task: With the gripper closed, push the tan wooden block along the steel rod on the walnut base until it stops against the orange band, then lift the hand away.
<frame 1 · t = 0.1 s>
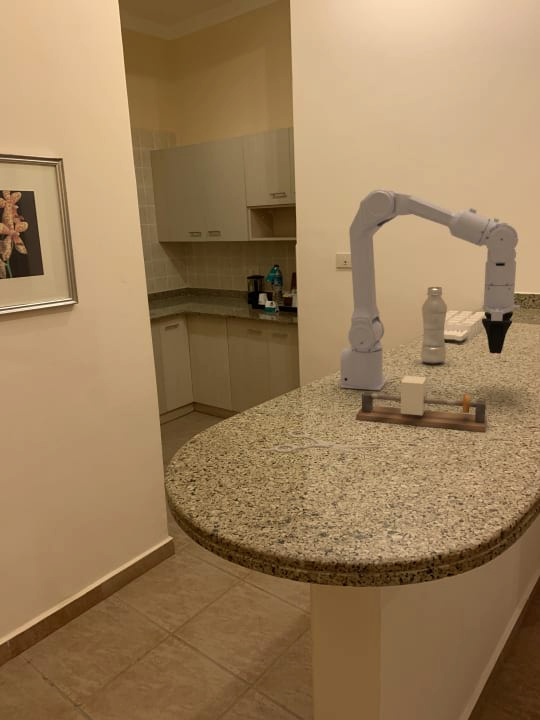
hand: (496, 348, 114), 10 cm above the counter, fingers open, 7 cm apart
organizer: (455, 334, 180), on the counter
scissors: (327, 449, 94), on the counter
rod base: (418, 419, 104), on the counter
tan wooden block: (413, 395, 103), point 5 cm above the counter, slide at 0.0 cm
plastic bottle: (433, 363, 144), on the counter
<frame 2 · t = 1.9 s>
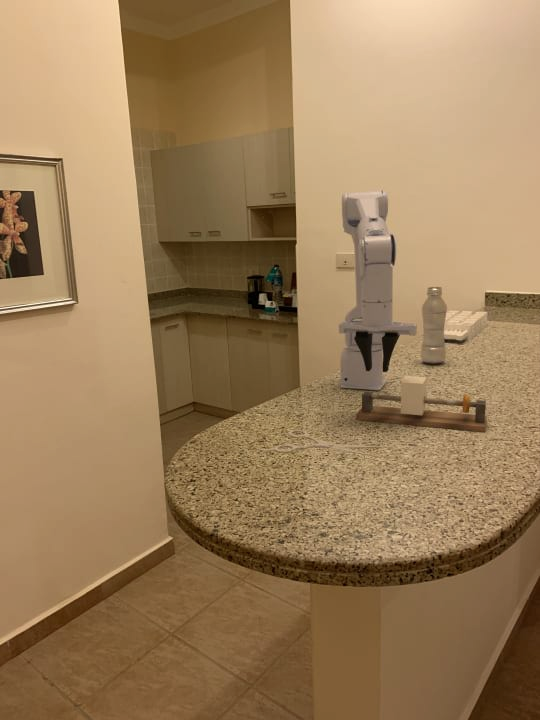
hand: (377, 370, 105), 9 cm above the counter, fingers open, 3 cm apart
nothing on the counter moved.
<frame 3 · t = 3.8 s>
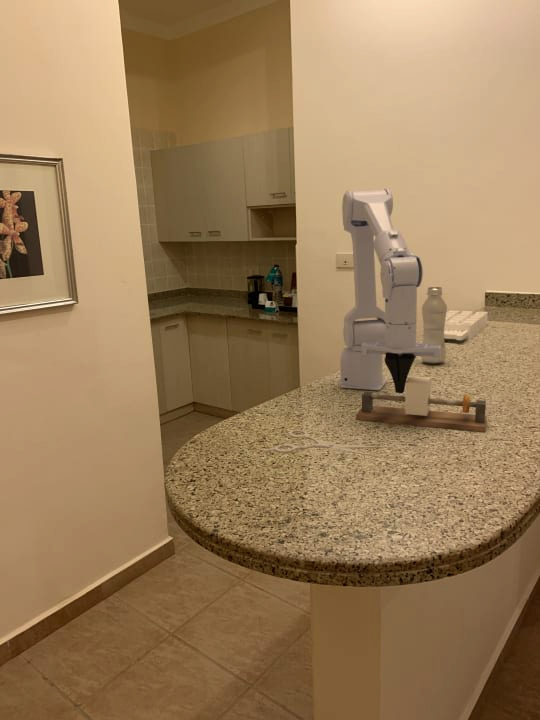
hand: (400, 391, 104), 5 cm above the counter, fingers closed
tan wooden block: (418, 395, 103), point 5 cm above the counter, slide at 0.8 cm, touching gripper
everything else where it was.
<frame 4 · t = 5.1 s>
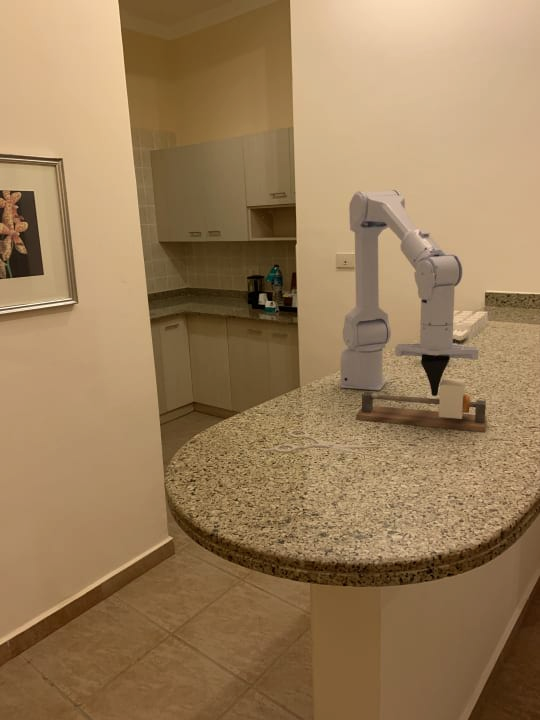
hand: (435, 394, 101), 5 cm above the counter, fingers closed
tan wooden block: (452, 398, 100), point 5 cm above the counter, slide at 7.0 cm, touching gripper, rod base
everything else where it was.
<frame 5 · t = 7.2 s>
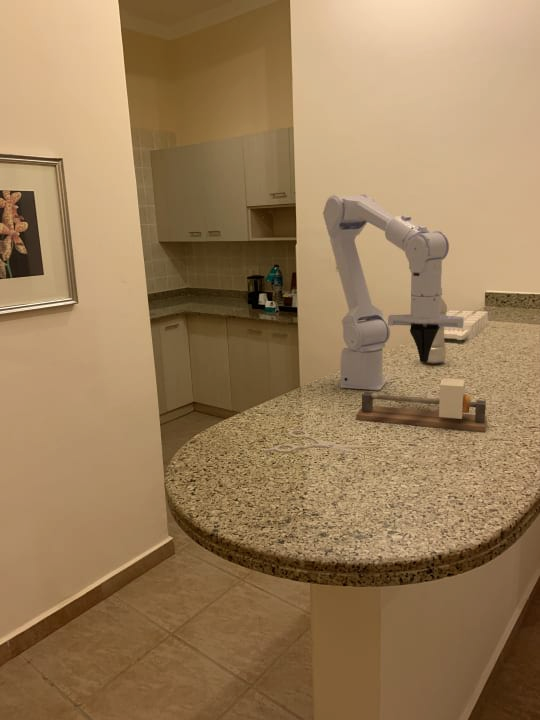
hand: (424, 360, 111), 9 cm above the counter, fingers closed
tan wooden block: (452, 398, 100), point 5 cm above the counter, slide at 7.0 cm, touching rod base
everything else where it was.
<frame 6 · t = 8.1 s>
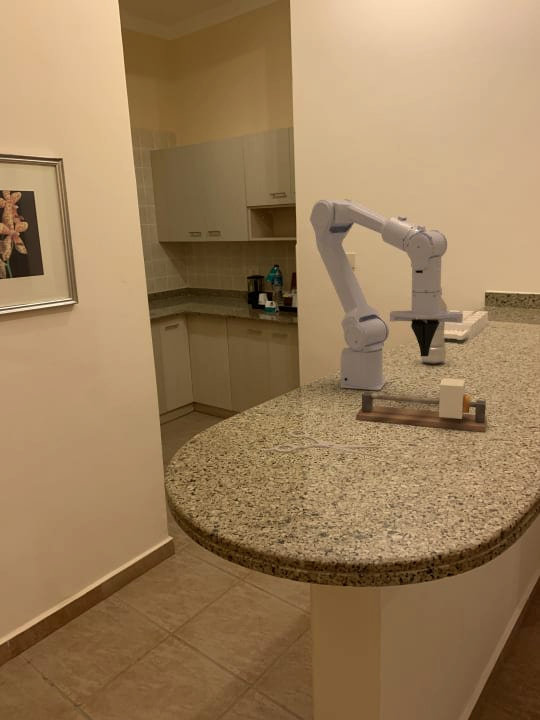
hand: (424, 355, 114), 9 cm above the counter, fingers closed
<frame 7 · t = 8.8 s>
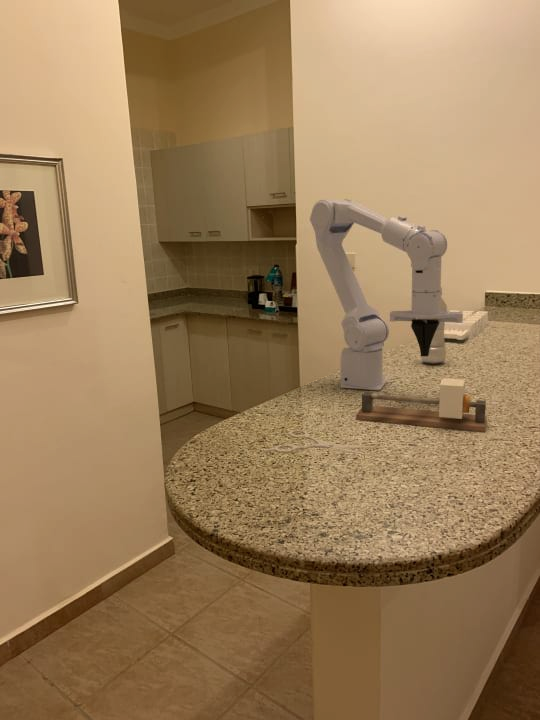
hand: (424, 355, 114), 9 cm above the counter, fingers closed
at the end: tan wooden block slide at 7.0 cm; the gripper is holding nothing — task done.
